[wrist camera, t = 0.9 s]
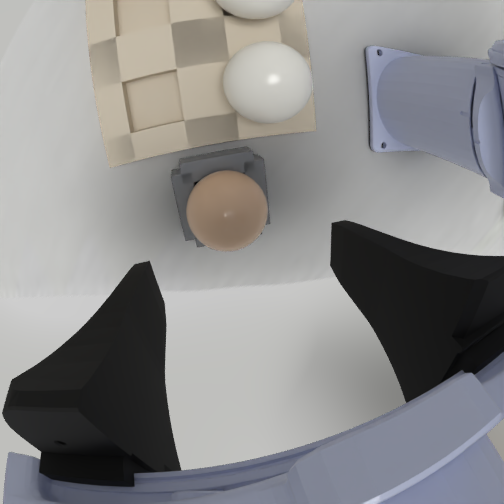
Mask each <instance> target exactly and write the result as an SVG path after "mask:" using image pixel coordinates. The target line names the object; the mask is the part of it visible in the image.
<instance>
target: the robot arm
mask: <svg viewBox="0 0 504 504" xmlns="http://www.w3.org/2000/svg"><path fill="white" fill-rule="evenodd" d="M377 50H378V51H379V53H380V54H379V55H378V54H377ZM488 55H489V58H490V60H487V59H478V58H466V57H448V56H423V55H419V54H415V53H410V52H406V51H401V50H396V49H391V48H385V47H379V46H368V47H367V48H366V61H367V73H368V86H369V105H370V146H371V149H372V150H373V151H375V152H393V151H417V150H421V151H424V152H427V153H429V154H432V155H435V156H437V157H440V158H442V159H445V160H447V161H450V162H452V163H454V164H457V165H459V166H461V167H464V168H466V169H468V170H471V171H473V172H475V173H477V174H479V175H481V176H483V177H486V178H488V180H489V183H490V191H491V192H493V193H494V194H496V195H498V196H500V197H502V198H504V40H498V41H495V43H494V44H493V46H492V48H490V49H489V50H488ZM382 143H383V147H382V148H381V144H382ZM330 266H331V268H332V270H333V271H334V273H335V275H336V277H337V279H338V281H339V282H340V284H341V285H342V287H343V288H344V289H345V291H346V292H347V293H348V295H349V296H350V298H351V299H352V300H353V302H354V303H355V304H356V306H357V307H358V308H359V310H360V311H361V312H362V313H363V315H364V316H365V318H366V319H367V320H368V322H369V323H370V325H371V326H372V328H373V329H374V331H375V333H376V335H377V337H378V339H379V340H380V342H381V344H382V346H383V348H384V350H385V352H386V354H387V356H388V358H389V360H390V362H391V364H392V367H393V369H394V372H395V374H396V376H397V379H398V381H399V384H400V386H401V389H402V391H403V395H404V398H405V401H406V404H404V405H402V406H400V407H398V408H396V409H394V410H392V411H390V412H388V413H386V414H384V415H381V416H379V417H377V418H375V419H373V420H371V421H368V422H366V423H364V424H361V425H359V426H356V427H354V428H352V429H349V430H347V431H344V432H341V433H339V434H336V435H334V436H331V437H328V438H325V439H323V440H319V441H316V442H313V443H310V444H307V445H305V446H301V447H298V448H294V449H291V450H287V451H284V452H280V453H276V454H273V455H268V456H264V457H260V458H256V459H252V460H247V461H242V462H237V463H232V464H226V465H220V466H214V467H207V468H199V469H192V470H182V471H181V467H180V463H179V459H178V456H177V452H176V447H175V442H174V438H173V433H172V428H171V422H170V417H169V410H168V403H167V394H166V386H165V347H166V314H165V304H164V300H163V298H162V295H161V292H160V289H159V286H158V284H157V281H156V278H155V275H154V272H153V269H152V266H151V264H150V261H147V262H143V263H138V264H134V266H133V267H132V268H131V269H130V270H129V271H128V273H127V274H126V275H125V277H124V278H123V279H122V281H121V282H120V283H119V284H118V286H117V287H116V288H115V290H114V291H113V292H112V294H111V295H110V296H109V297H108V299H107V300H106V301H105V302H104V303H103V305H102V306H101V307H100V308H99V309H98V311H97V312H96V313H95V314H94V315H93V316H92V317H91V318H90V320H89V321H88V322H87V323H86V324H85V325H84V326H83V327H82V328H81V329H80V330H79V331H78V332H77V333H76V334H74V335H73V336H72V337H71V338H70V339H69V340H68V341H66V342H65V343H64V344H63V345H62V346H61V347H60V348H58V349H57V350H56V351H55V352H53V353H52V354H51V355H49V356H48V357H47V358H45V359H44V360H42V361H41V362H40V363H38V364H37V365H35V366H34V367H32V368H30V369H29V370H27V371H26V372H24V373H22V374H21V375H19V376H17V377H16V378H14V379H12V381H11V384H10V387H9V390H8V394H7V397H6V401H5V404H4V408H3V412H2V414H3V417H4V419H5V421H6V422H7V424H8V425H9V426H10V427H11V428H12V429H13V430H14V431H15V432H16V433H17V434H19V435H20V436H21V437H22V438H24V439H25V440H26V441H28V442H29V443H30V444H31V445H33V446H34V447H36V448H37V449H38V450H40V451H41V459H38V458H35V457H32V456H29V455H23V454H18V453H13V452H9V453H8V458H7V466H6V473H5V483H4V496H3V504H504V462H503V460H502V458H501V457H500V455H499V453H498V452H497V450H496V449H495V447H494V445H493V444H492V442H491V441H490V439H489V438H488V436H487V433H488V432H489V431H490V430H492V429H493V428H494V427H495V426H496V425H497V424H498V423H499V422H500V421H501V420H502V419H503V418H504V256H478V255H467V254H460V253H453V252H448V251H442V250H437V249H433V248H429V247H425V246H421V245H418V244H414V243H411V242H408V241H405V240H402V239H399V238H396V237H393V236H390V235H387V234H385V233H382V232H379V231H377V230H374V229H371V228H368V227H366V226H363V225H360V224H357V223H354V222H350V221H346V220H344V221H339V222H334V223H332V231H331V262H330Z"/></svg>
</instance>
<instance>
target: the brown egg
mask: <svg viewBox="0 0 504 504" xmlns="http://www.w3.org/2000/svg"><path fill="white" fill-rule="evenodd" d="M186 215H187V221H188V224H189V227H190V229H191V231H192V233H193V234H194V236H195V237H196V238H197V239H198V240H199V241H200V242H201V243H203V244H204V245H205V246H207V247H209V248H211V249H214V250H218V251H225V252H228V251H236V250H240V249H242V248H245V247H246V246H248V245H250V244H251V243H253V242H254V241H255V240H256V239H257V238H258V237H259V235H260V234H261V232H262V231H263V229H264V227H265V224H266V221H267V215H268V206H267V200H266V197H265V195H264V193H263V191H262V189H261V188H260V186H259V185H258V184H257V183H256V182H255V181H254V180H253V179H252V178H250V177H249V176H247V175H245V174H243V173H240V172H237V171H231V170H223V171H217V172H214V173H211V174H209V175H207V176H205V177H204V178H203V179H201V180H200V181H199V182H198V183H197V184H196V185H195V187H194V188H193V190H192V191H191V193H190V195H189V198H188V201H187V208H186Z"/></svg>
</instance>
